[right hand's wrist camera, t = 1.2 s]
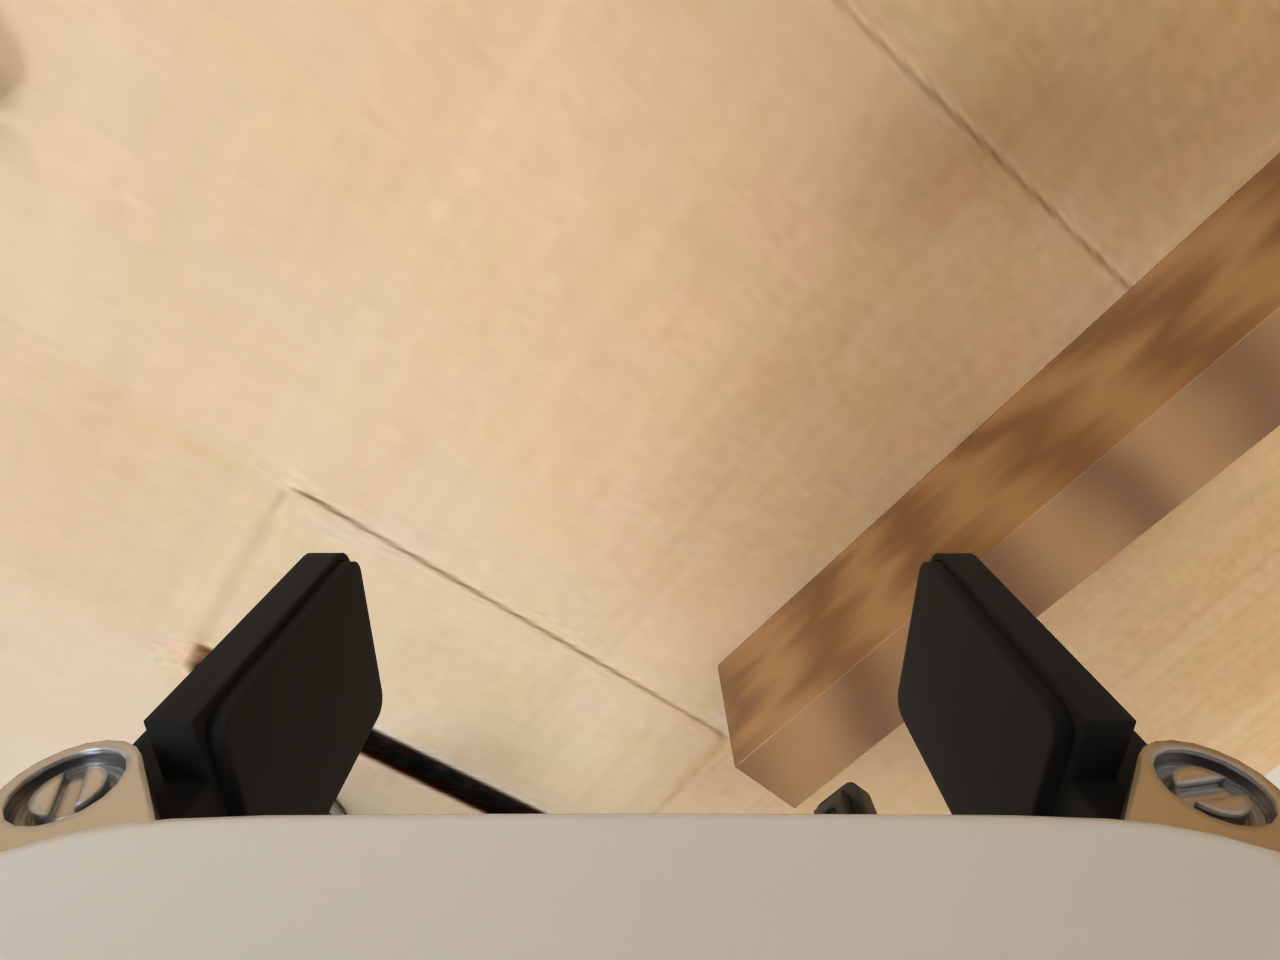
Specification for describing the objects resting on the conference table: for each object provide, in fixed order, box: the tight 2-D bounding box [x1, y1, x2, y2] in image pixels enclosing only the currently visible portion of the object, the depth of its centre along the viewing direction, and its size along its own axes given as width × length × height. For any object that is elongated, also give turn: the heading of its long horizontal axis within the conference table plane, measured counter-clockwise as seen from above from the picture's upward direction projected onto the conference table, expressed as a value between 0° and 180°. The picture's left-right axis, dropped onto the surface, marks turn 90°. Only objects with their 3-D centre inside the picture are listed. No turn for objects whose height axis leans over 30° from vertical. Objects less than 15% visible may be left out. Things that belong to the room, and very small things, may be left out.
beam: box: [718, 153, 1280, 808], centre depth 32 cm, size 58×5×8 cm, turn 139°
